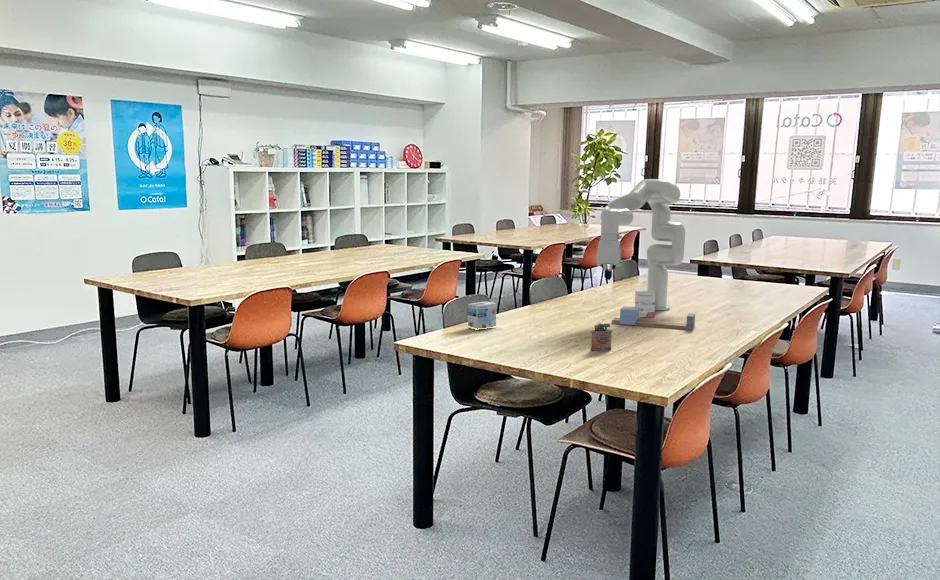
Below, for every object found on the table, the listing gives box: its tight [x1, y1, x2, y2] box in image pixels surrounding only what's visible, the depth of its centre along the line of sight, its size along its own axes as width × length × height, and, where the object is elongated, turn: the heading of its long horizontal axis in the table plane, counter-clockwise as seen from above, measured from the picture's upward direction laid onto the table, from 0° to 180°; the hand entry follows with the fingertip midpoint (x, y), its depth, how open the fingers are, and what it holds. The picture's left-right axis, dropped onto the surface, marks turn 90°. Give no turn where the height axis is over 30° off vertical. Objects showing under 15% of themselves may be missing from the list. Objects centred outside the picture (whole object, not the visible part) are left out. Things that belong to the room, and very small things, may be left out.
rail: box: [611, 312, 696, 332], centre depth 305 cm, size 8×34×6 cm, turn 67°
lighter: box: [590, 323, 613, 352], centre depth 259 cm, size 8×3×10 cm, turn 106°
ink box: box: [634, 289, 656, 318], centre depth 325 cm, size 9×5×12 cm, turn 84°
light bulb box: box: [467, 300, 497, 329], centre depth 297 cm, size 11×7×11 cm, turn 129°
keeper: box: [618, 306, 640, 326], centre depth 308 cm, size 8×7×6 cm
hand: (607, 279), depth 310 cm, fingers closed
